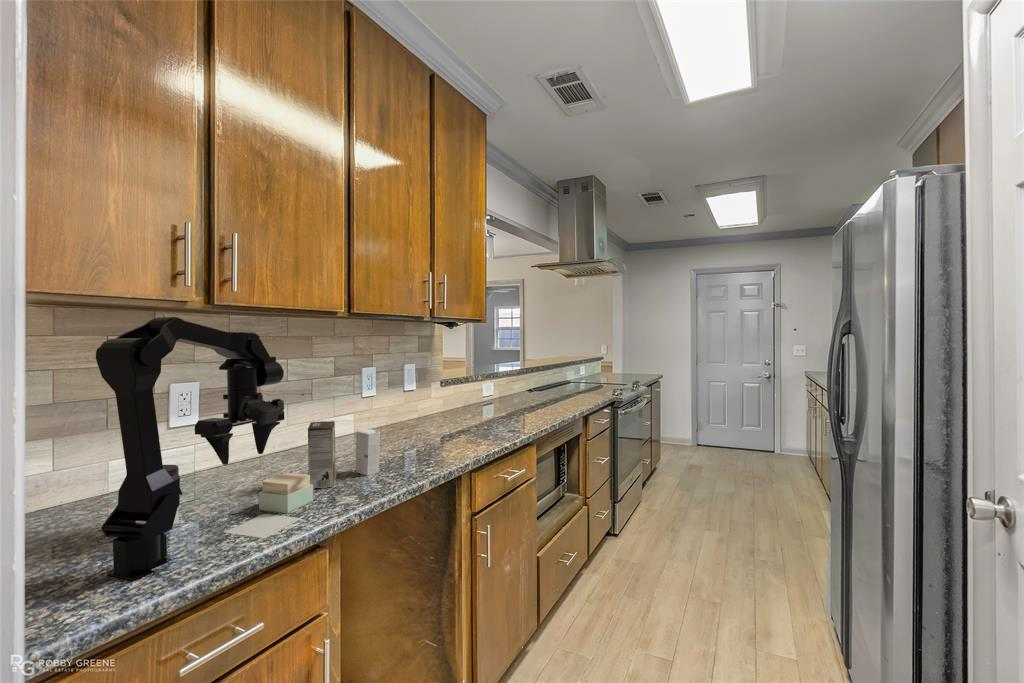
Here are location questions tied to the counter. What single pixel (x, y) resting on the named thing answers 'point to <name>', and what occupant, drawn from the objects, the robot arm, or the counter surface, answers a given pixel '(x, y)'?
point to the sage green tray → (285, 500)
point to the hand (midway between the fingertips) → (243, 459)
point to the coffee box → (321, 454)
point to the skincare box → (367, 451)
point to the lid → (286, 483)
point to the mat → (263, 525)
